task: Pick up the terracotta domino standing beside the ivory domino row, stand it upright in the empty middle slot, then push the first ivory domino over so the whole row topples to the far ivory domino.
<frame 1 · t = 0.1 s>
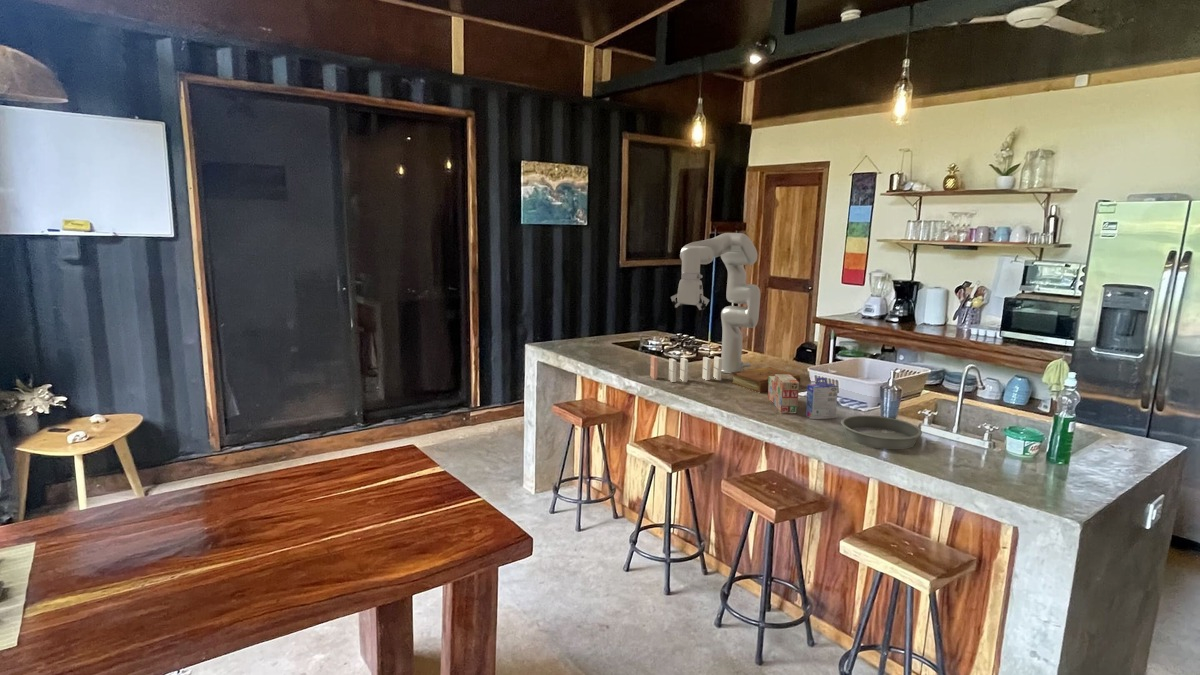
hand: (689, 318, 262), 31 cm above the table, tool pointing down, fingers open, 9 cm apart
cake pan: (879, 439, 210), on the table
terracotta domino: (653, 377, 289), on the table
stack of blocks: (781, 405, 247), on the table
end domino: (717, 378, 288), on the table
domino 4: (706, 379, 287), on the table
domino 2: (683, 380, 284), on the table
diary: (764, 386, 278), on the table
head domino: (672, 381, 283), on the table
ink cartridge box: (820, 417, 232), on the table
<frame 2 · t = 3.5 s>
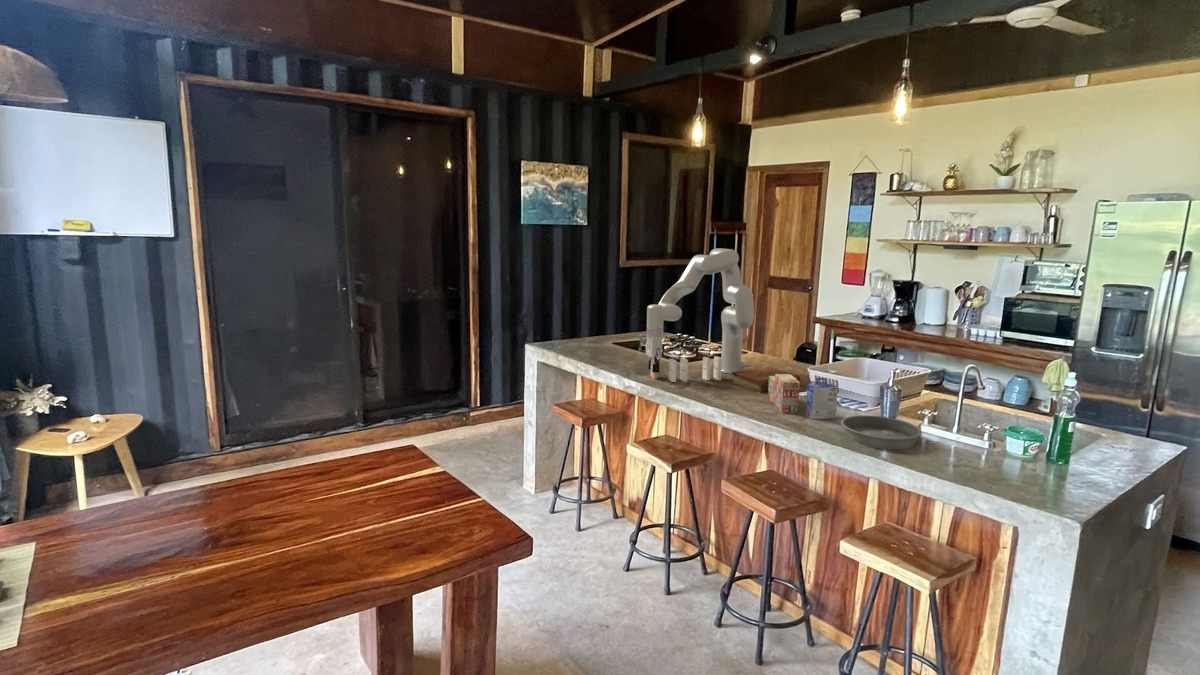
hand: (653, 370, 289), 3 cm above the table, tool pointing down, fingers closed on terracotta domino, 4 cm apart
terracotta domino: (653, 377, 289), on the table, touching gripper
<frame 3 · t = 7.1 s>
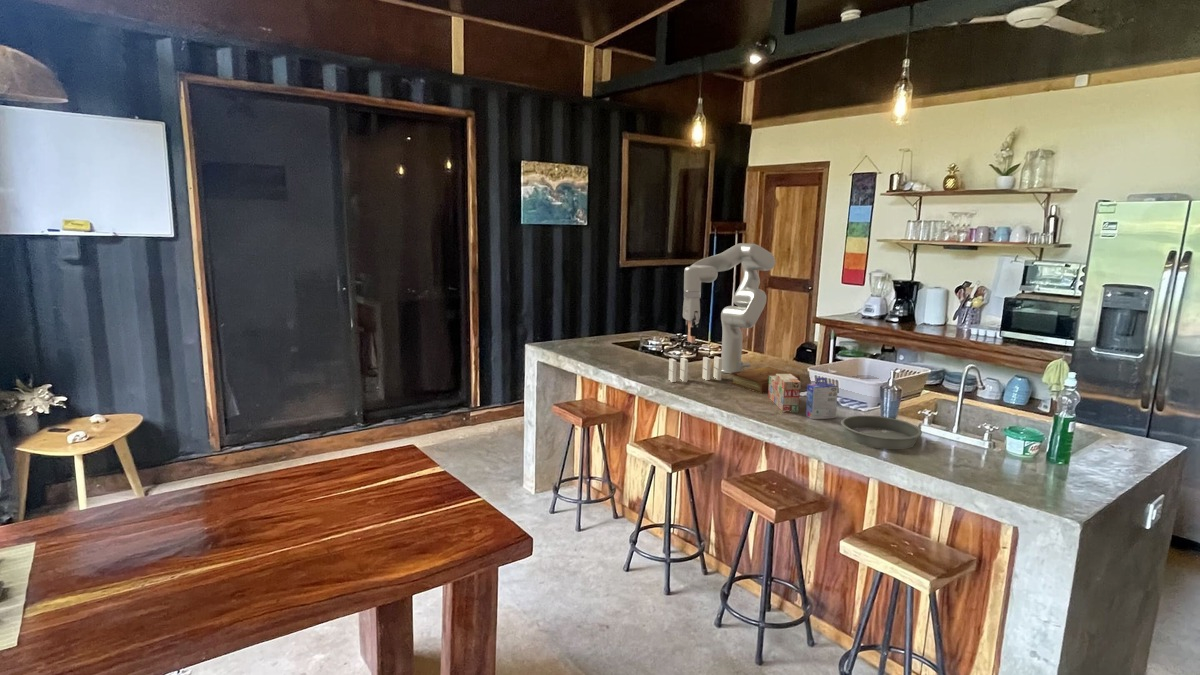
hand: (691, 334, 283), 21 cm above the table, tool pointing down, fingers closed on terracotta domino, 4 cm apart
terracotta domino: (691, 341, 283), point 18 cm above the table, touching gripper
when the fingers open (4 cm above the table, at t = 11.1 s): terracotta domino stays where it is, on the table.
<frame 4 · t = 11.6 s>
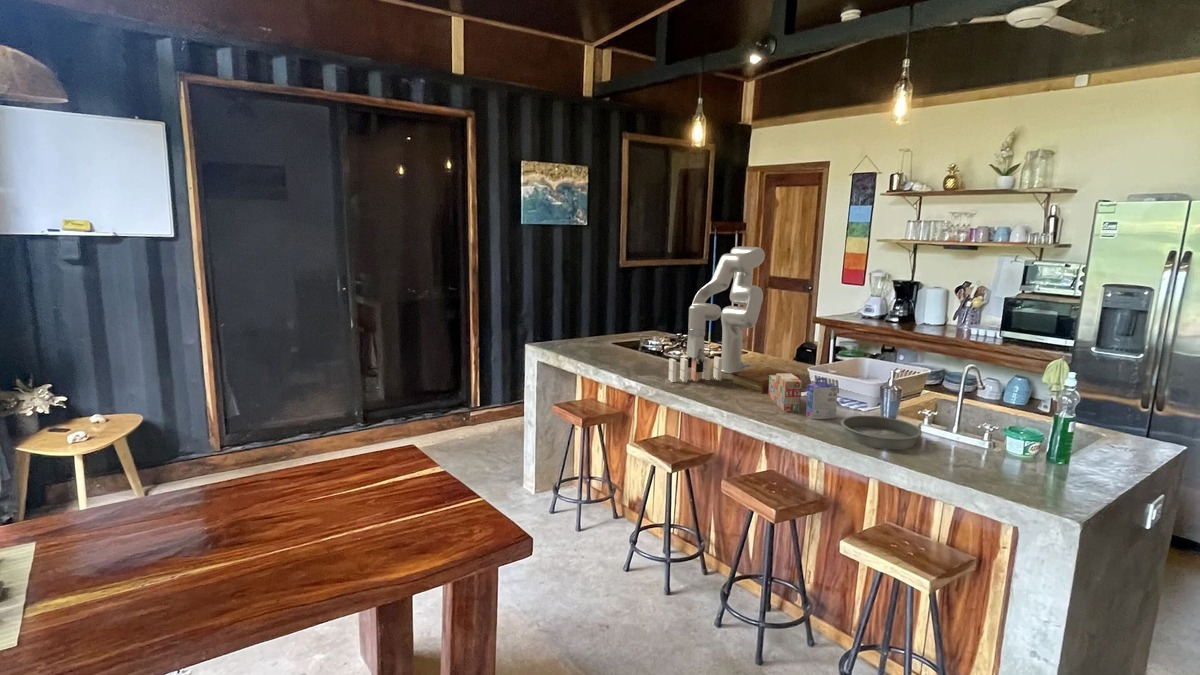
hand: (695, 369, 285), 5 cm above the table, tool pointing down, fingers open, 9 cm apart
terracotta domino: (694, 380, 286), on the table
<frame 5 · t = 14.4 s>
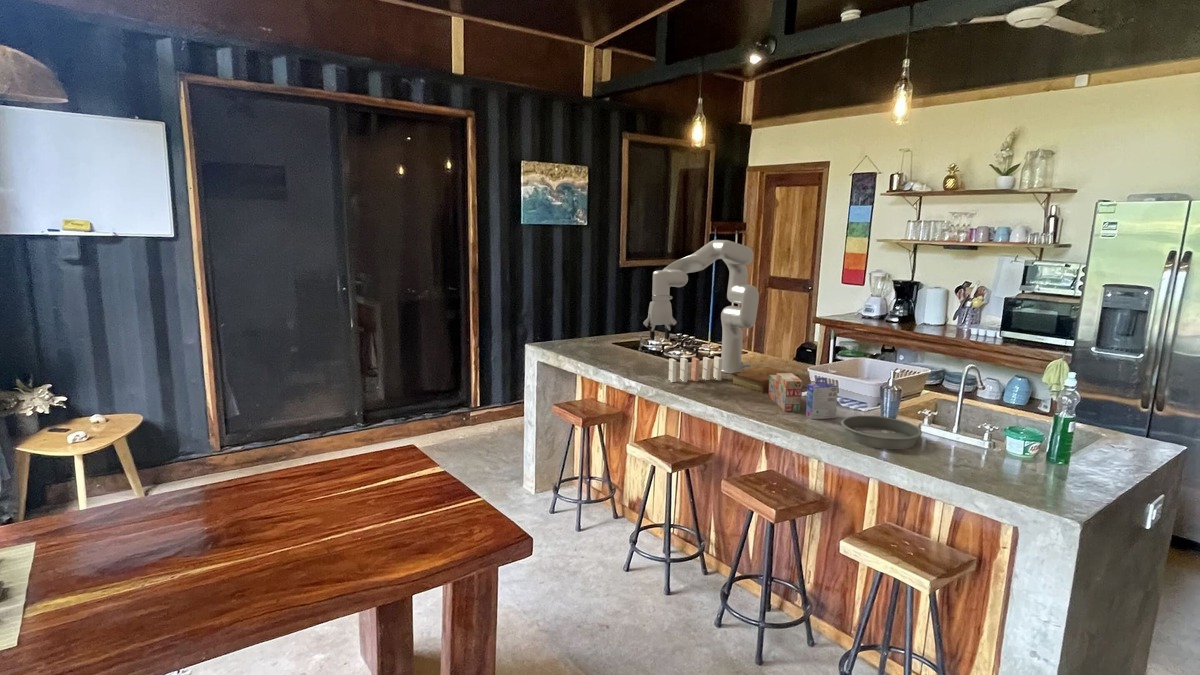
hand: (659, 339, 278), 20 cm above the table, tool pointing down, fingers open, 5 cm apart
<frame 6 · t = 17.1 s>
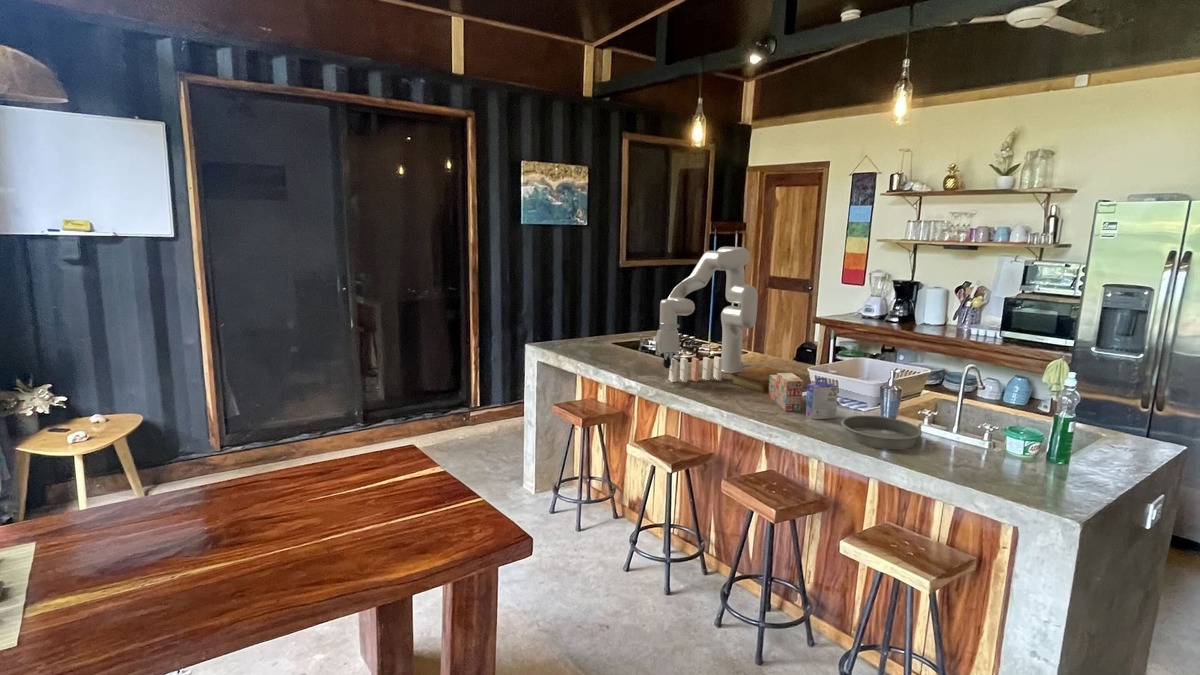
hand: (667, 367, 281), 6 cm above the table, tool pointing down, fingers closed
head domino: (672, 381, 283), on the table, touching gripper
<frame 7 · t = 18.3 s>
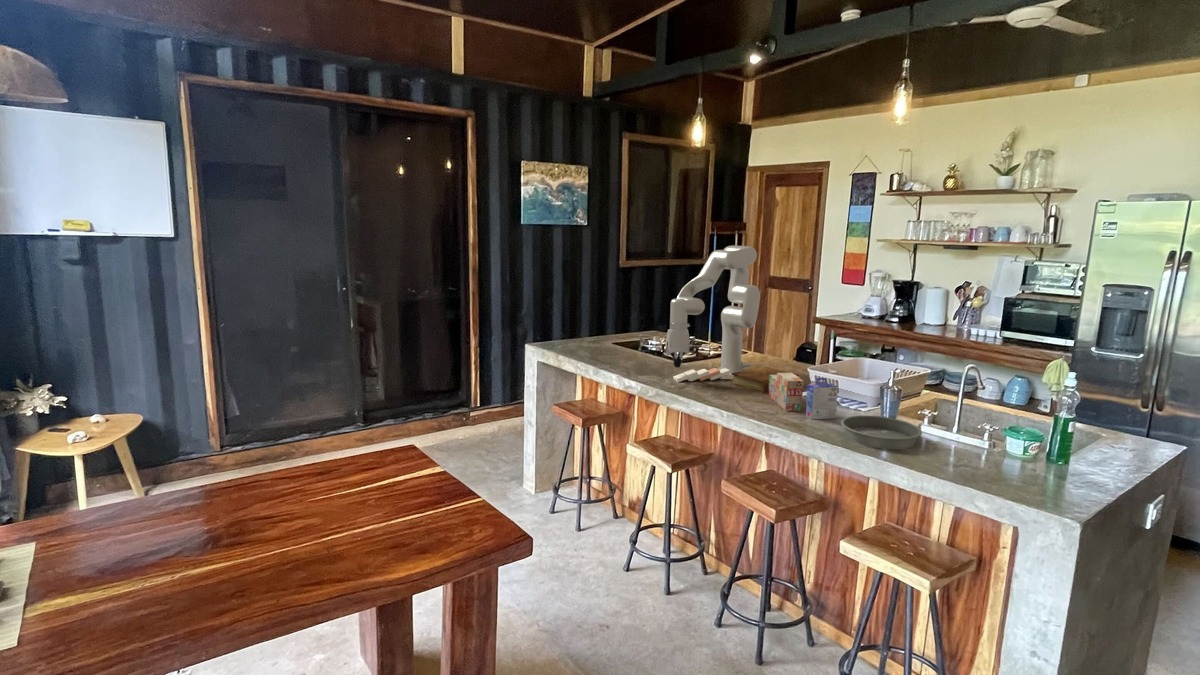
hand: (677, 366, 282), 7 cm above the table, tool pointing down, fingers closed
terracotta domino: (698, 378, 286), point 1 cm above the table, tilted 72°, touching domino 2, domino 4
end domino: (719, 377, 289), point 1 cm above the table, tilted 90°
domino 4: (708, 377, 287), point 1 cm above the table, tilted 74°, touching terracotta domino
domino 2: (687, 378, 284), point 1 cm above the table, tilted 72°, touching head domino, terracotta domino
head domino: (675, 379, 283), point 1 cm above the table, tilted 73°, touching domino 2
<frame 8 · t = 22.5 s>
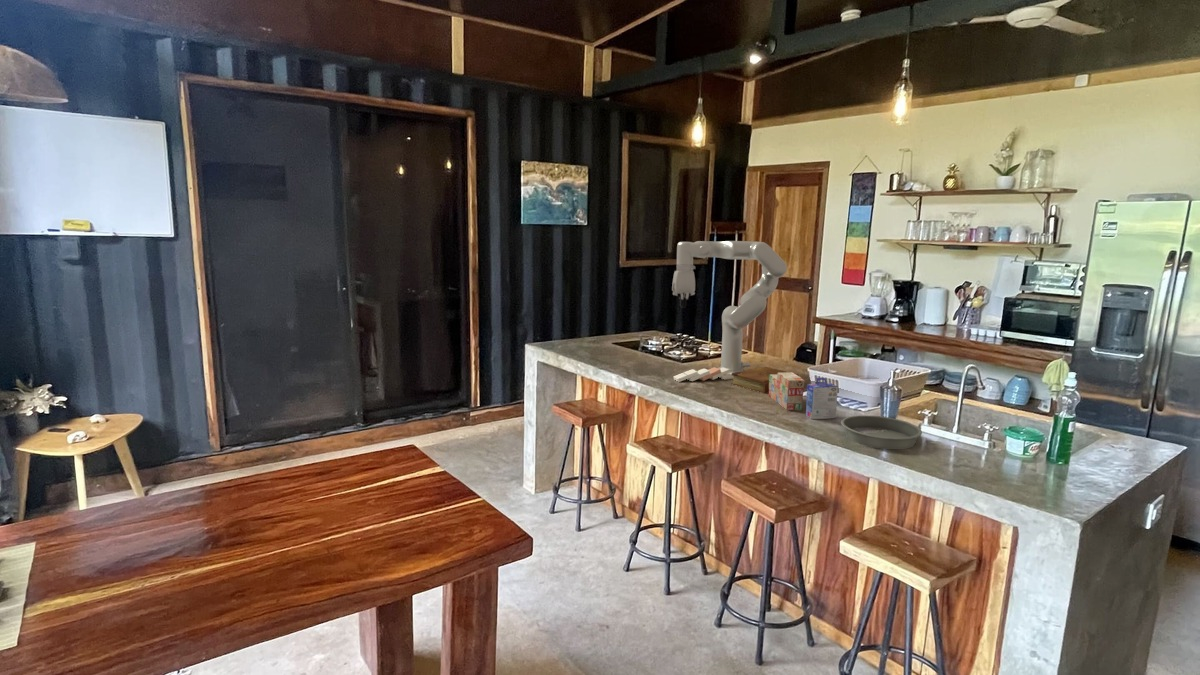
hand: (683, 307, 296), 31 cm above the table, tool pointing down, fingers closed
at the end: end domino tilted 90°; terracotta domino tilted 72°; terracotta domino inside the target area (1.8 cm from its centre), point 0.8 cm above the table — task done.
